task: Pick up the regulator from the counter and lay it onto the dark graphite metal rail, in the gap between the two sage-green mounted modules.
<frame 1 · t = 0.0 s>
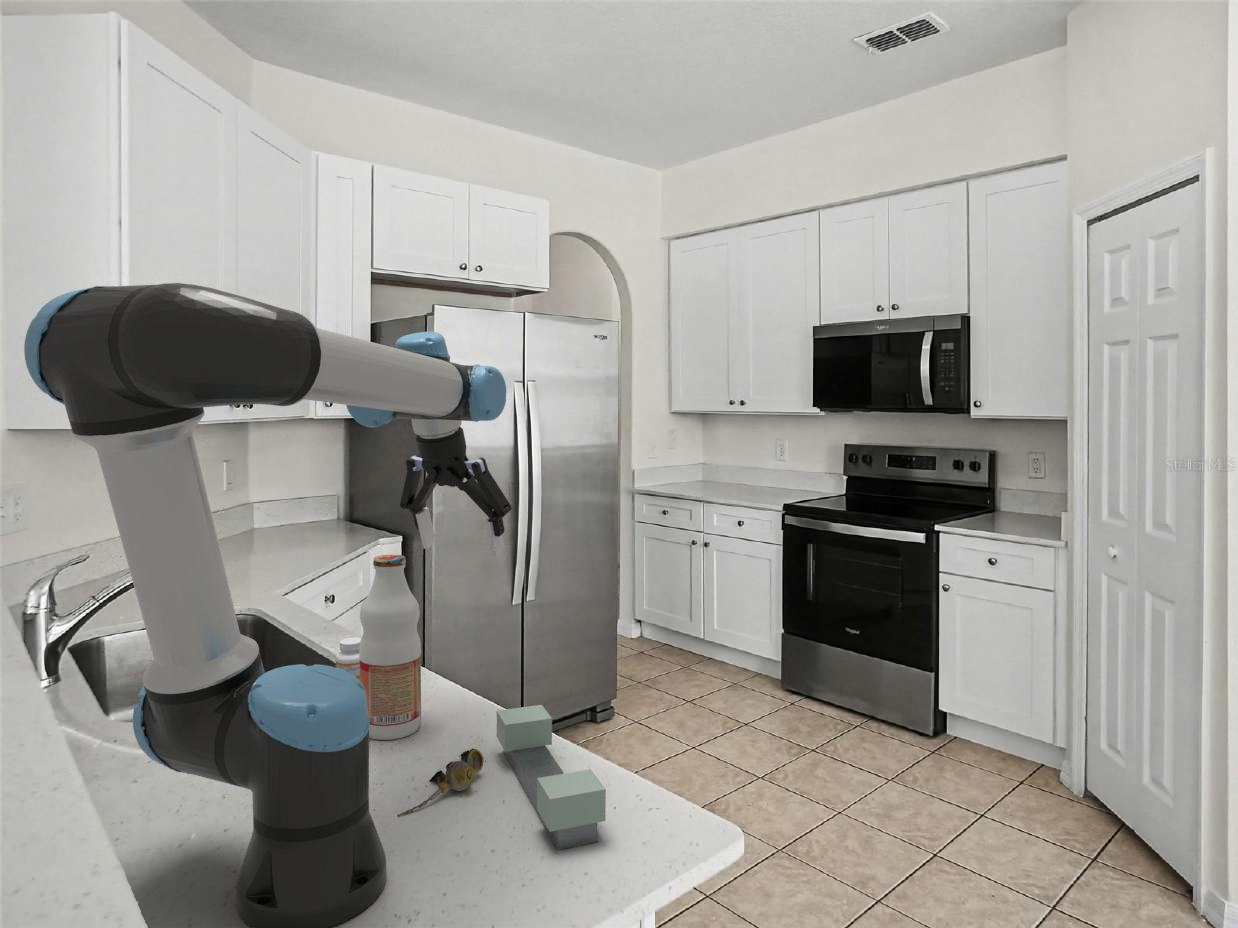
hand: (463, 548, 134), 28 cm above the counter, tool tilted 20°, fingers open, 13 cm apart
regulator: (444, 796, 107), on the counter
supplement bottle: (352, 694, 143), on the counter
rail: (544, 791, 108), on the counter
fruit juice: (391, 730, 128), on the counter
mounted modules: (545, 759, 108), on the rail, point 4 cm above the counter
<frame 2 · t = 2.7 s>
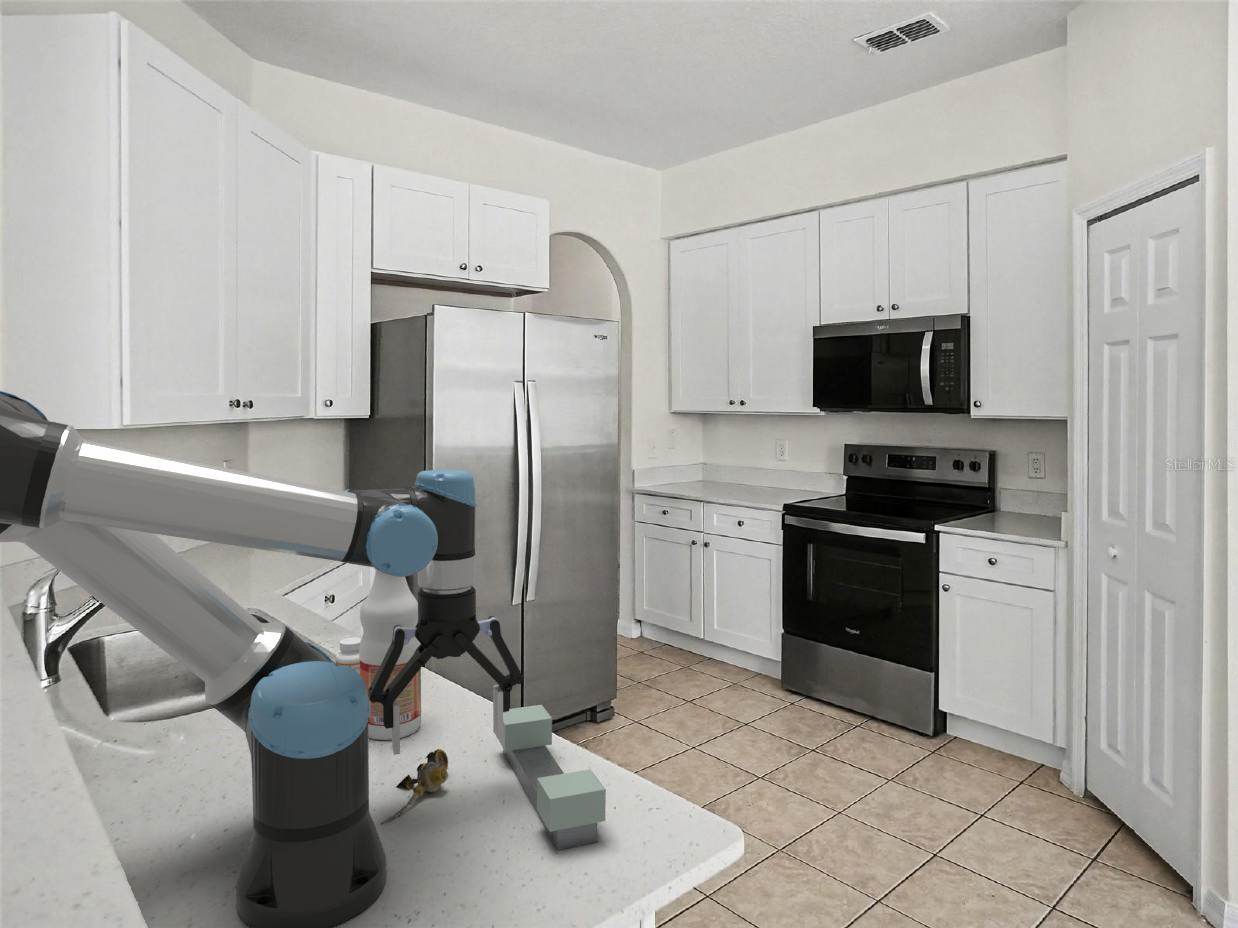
hand: (448, 742, 107), 7 cm above the counter, tool pointing down, fingers open, 13 cm apart
regulator: (418, 799, 107), on the counter
everything else where it was.
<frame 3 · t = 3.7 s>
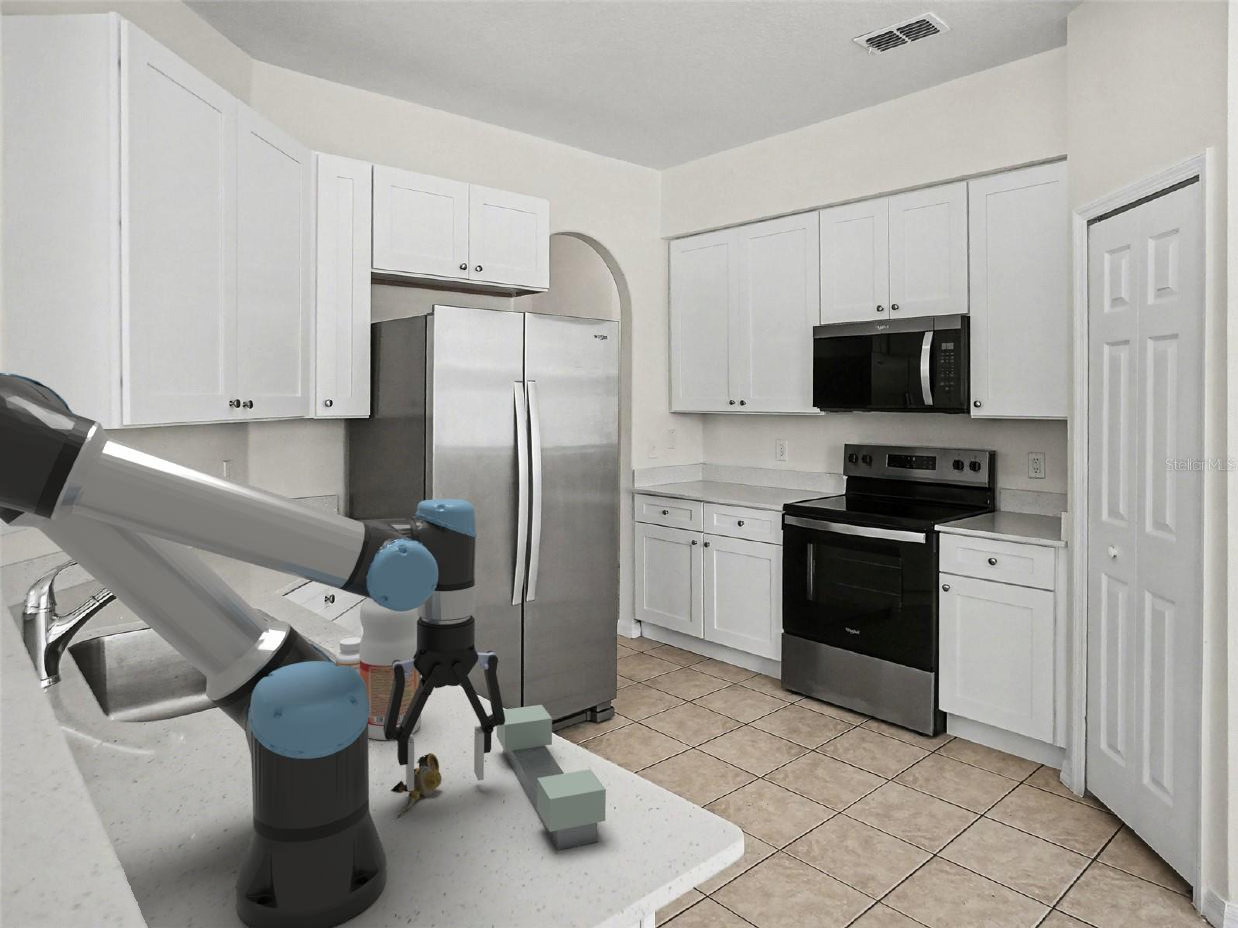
hand: (444, 780, 107), 2 cm above the counter, tool pointing down, fingers open, 8 cm apart
regulator: (413, 804, 106), on the counter, touching gripper
everything else where it was.
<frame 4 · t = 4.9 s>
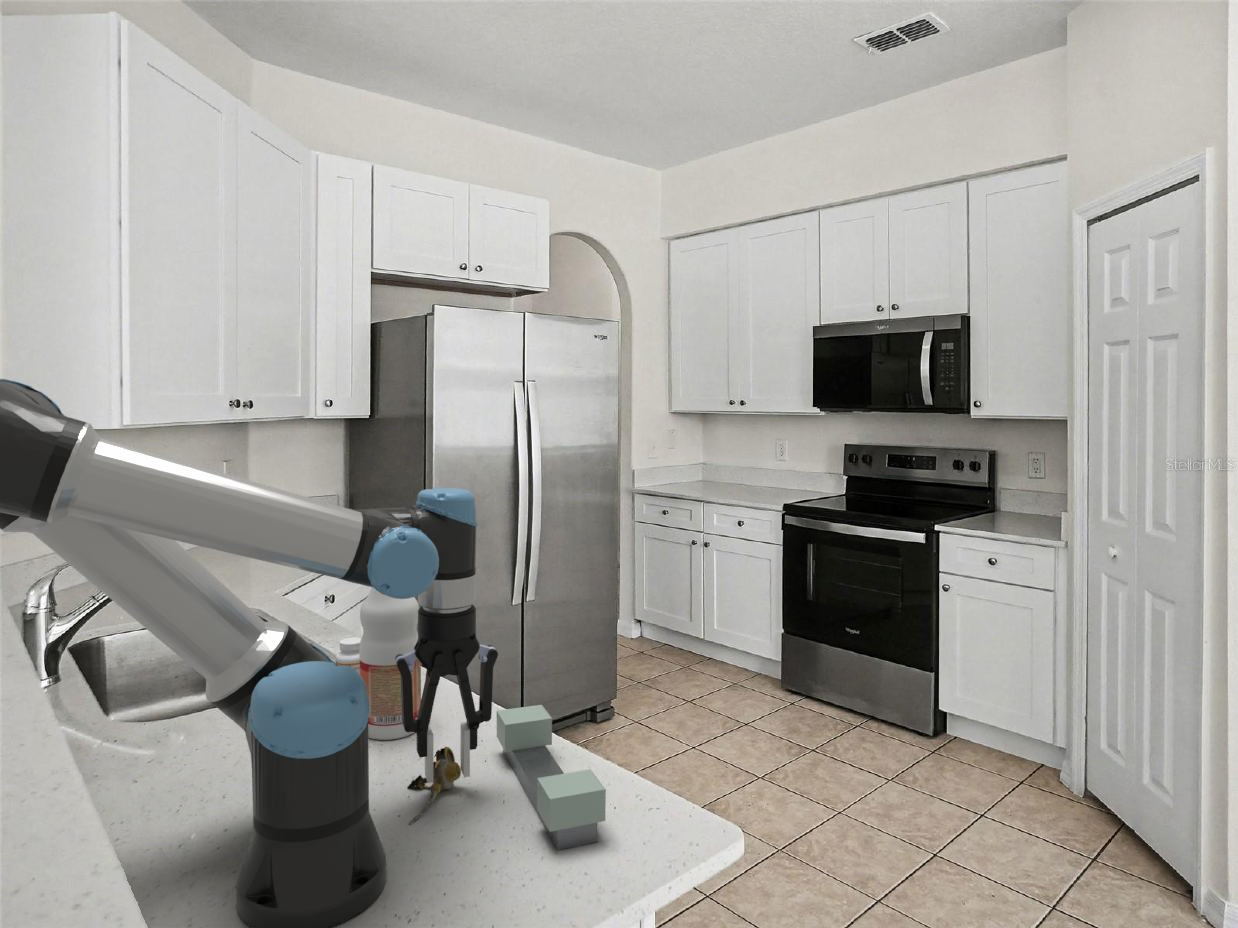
hand: (447, 774, 107), 3 cm above the counter, tool pointing down, fingers closed on regulator, 4 cm apart
regulator: (434, 797, 107), on the counter, touching gripper
everything else where it was.
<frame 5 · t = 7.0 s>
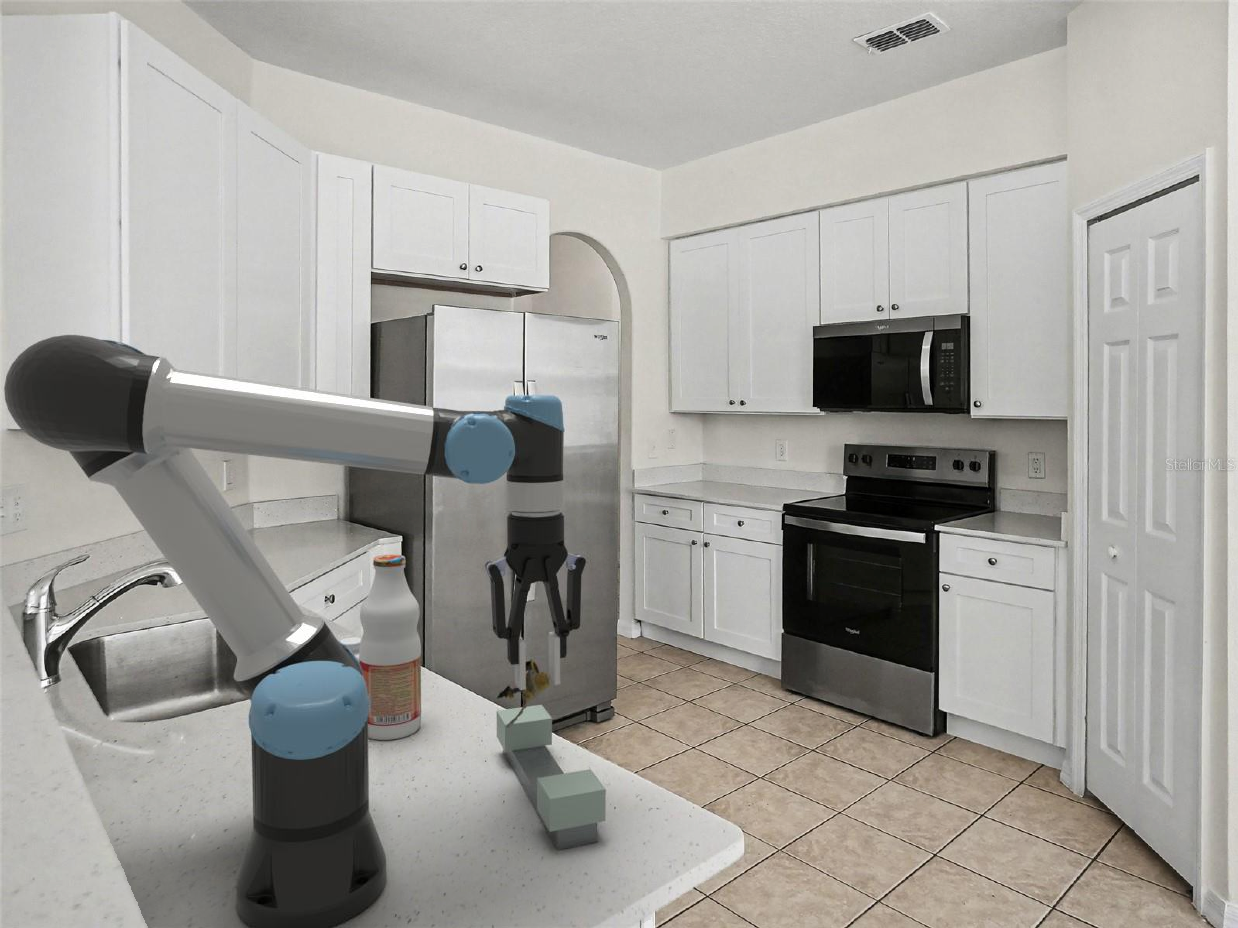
hand: (537, 683, 107), 15 cm above the counter, tool pointing down, fingers closed on regulator, 4 cm apart
regulator: (525, 705, 107), point 12 cm above the counter, touching gripper
everything else where it was.
when the fingers open (7 cm above the counter, at t = 8.7 s): regulator drops 1 cm, resting on rail.
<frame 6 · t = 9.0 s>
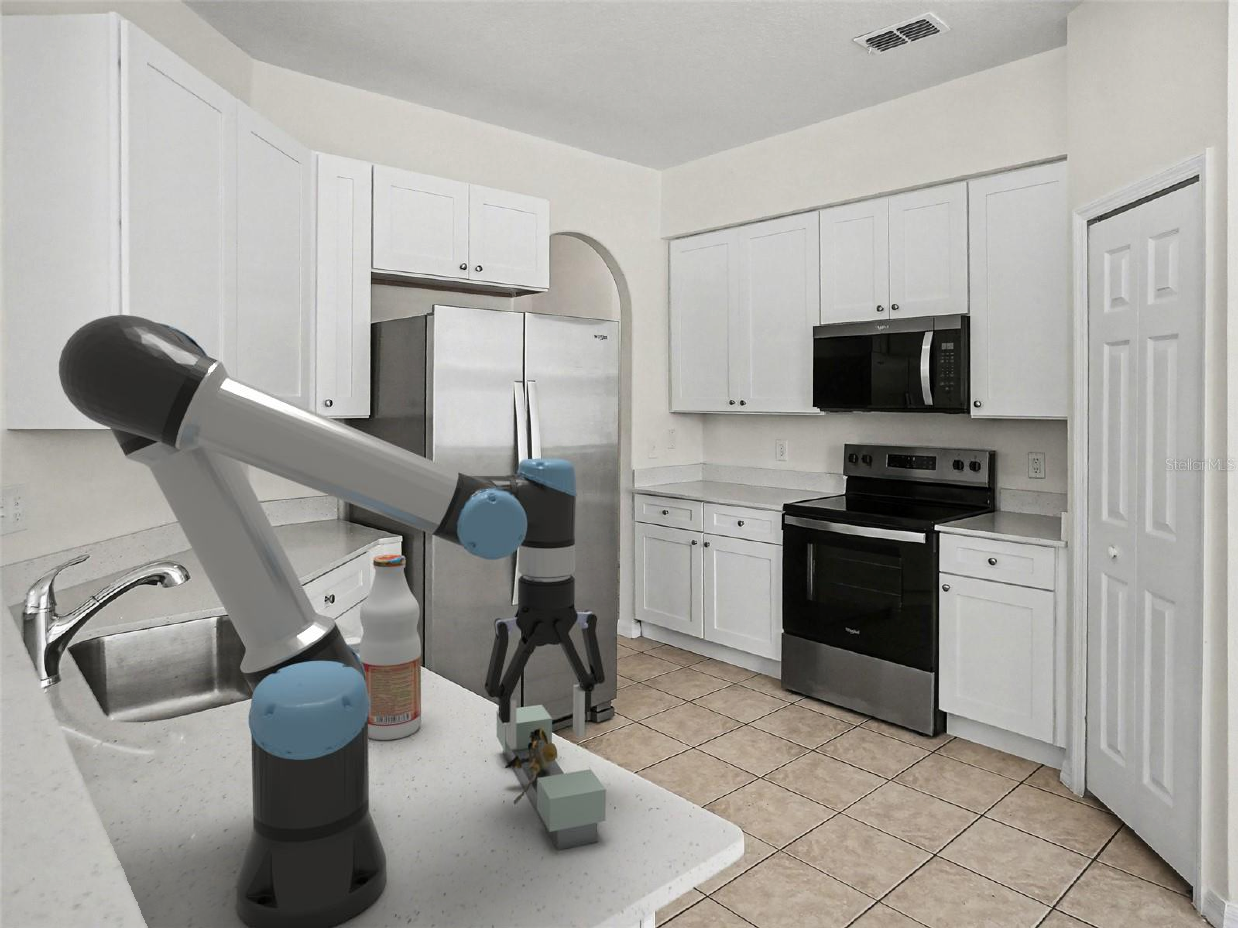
hand: (545, 739, 108), 7 cm above the counter, tool pointing down, fingers open, 9 cm apart
regulator: (532, 777, 107), point 2 cm above the counter, touching rail
everything else where it was.
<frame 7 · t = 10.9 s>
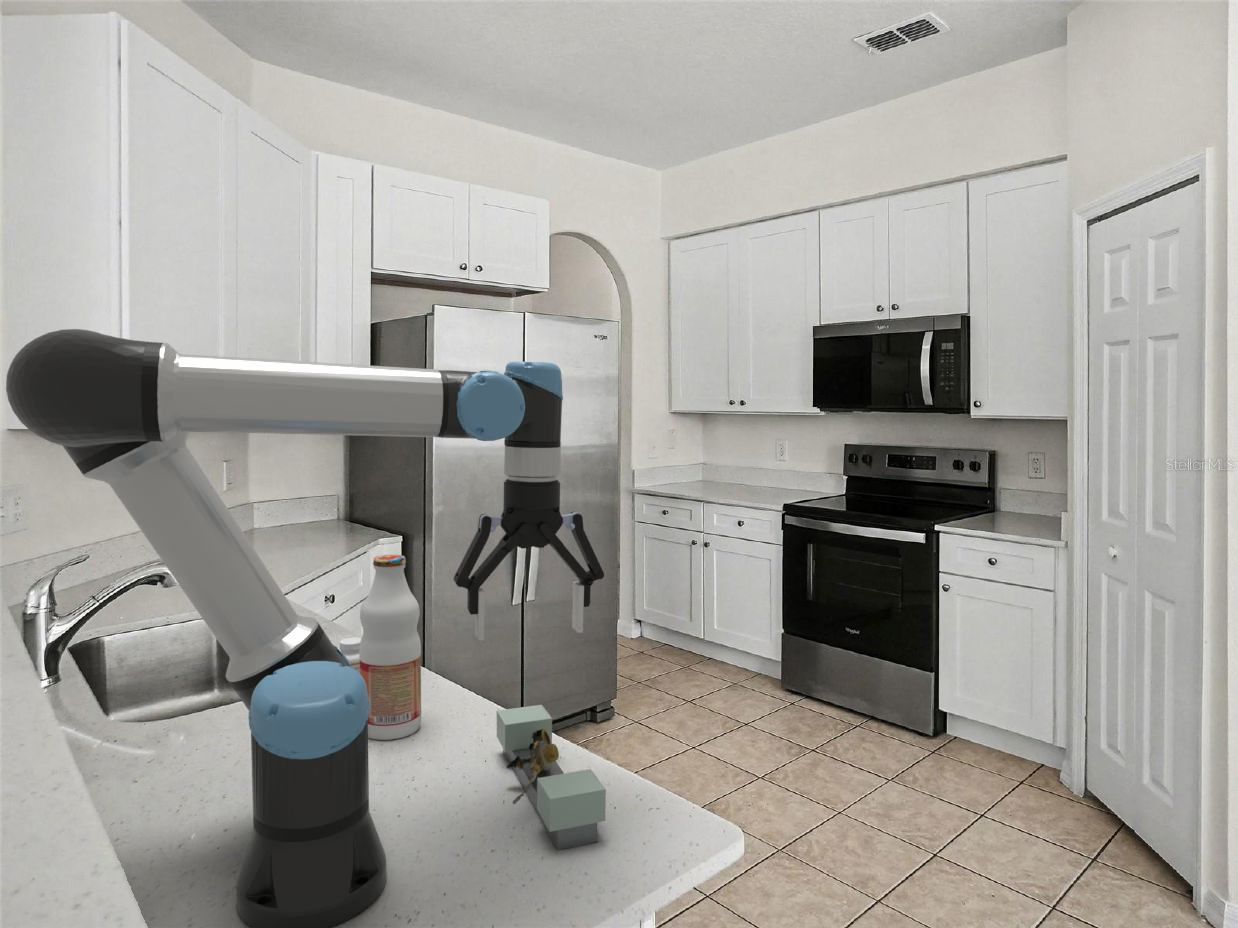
hand: (529, 633, 108), 21 cm above the counter, tool pointing down, fingers open, 13 cm apart
nothing on the counter moved.
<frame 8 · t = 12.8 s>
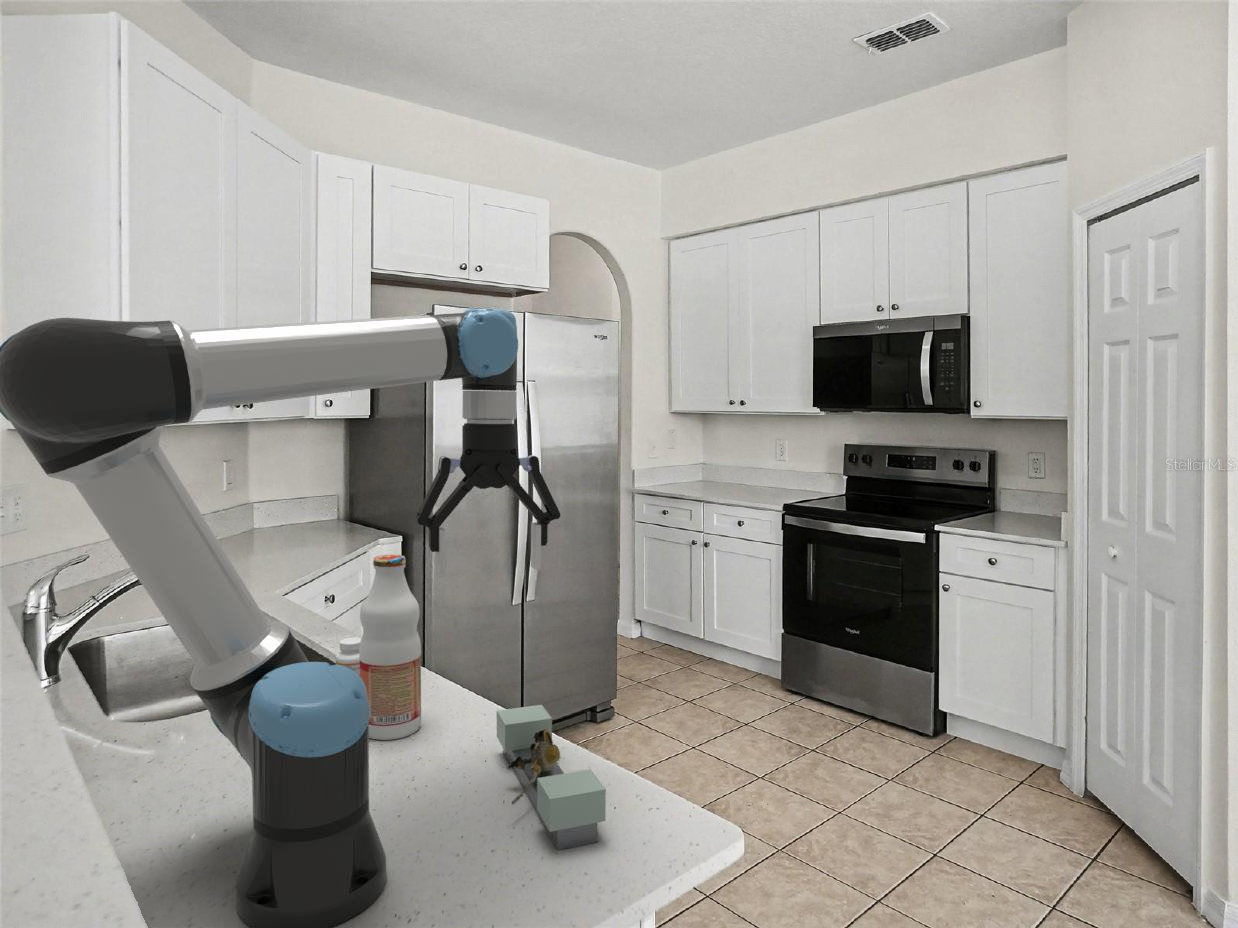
hand: (489, 571, 113), 29 cm above the counter, tool pointing down, fingers open, 13 cm apart
nothing on the counter moved.
at the end: regulator 1.6 cm off-centre on the rail, point 2.3 cm above the rail's base; regulator touching rail; the gripper is holding nothing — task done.
